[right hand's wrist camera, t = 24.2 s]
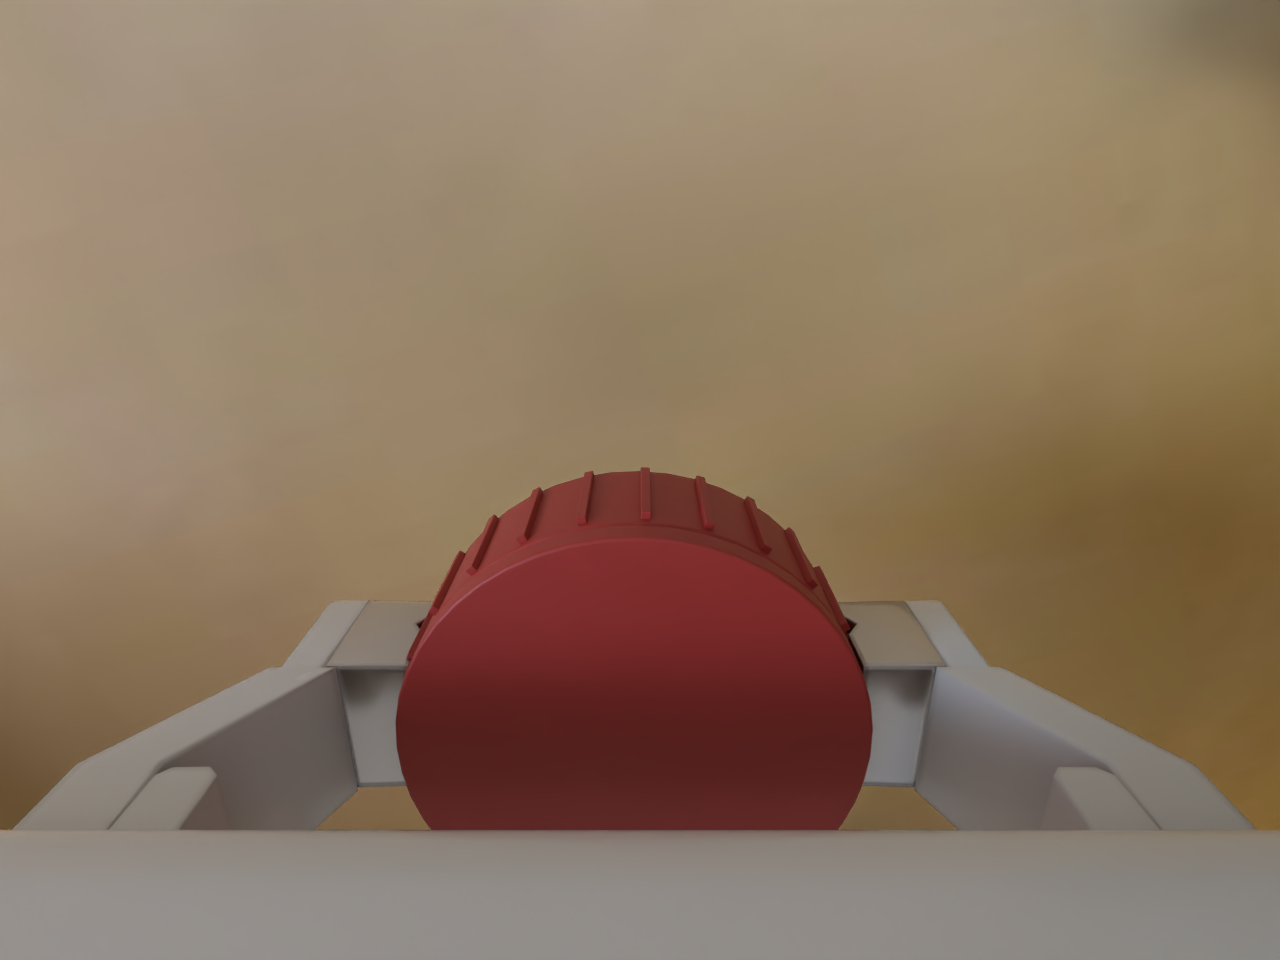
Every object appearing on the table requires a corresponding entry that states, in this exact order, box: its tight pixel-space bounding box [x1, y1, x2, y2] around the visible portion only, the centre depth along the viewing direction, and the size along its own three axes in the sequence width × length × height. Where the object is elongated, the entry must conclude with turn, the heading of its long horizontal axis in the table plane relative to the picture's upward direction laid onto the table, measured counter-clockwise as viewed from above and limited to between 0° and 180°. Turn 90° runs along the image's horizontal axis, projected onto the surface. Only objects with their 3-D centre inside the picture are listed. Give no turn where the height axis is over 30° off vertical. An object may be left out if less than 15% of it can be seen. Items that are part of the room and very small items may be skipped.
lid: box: [396, 467, 873, 830], centre depth 9 cm, size 6×6×2 cm
